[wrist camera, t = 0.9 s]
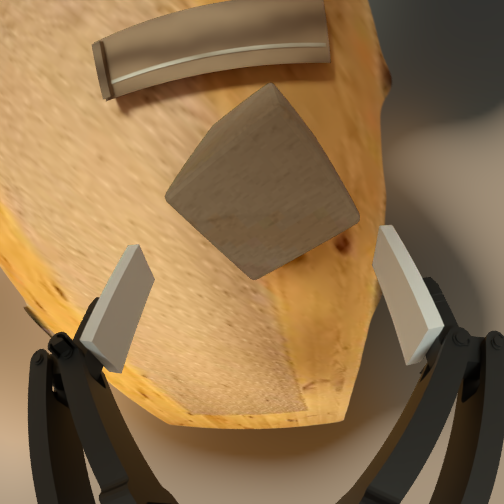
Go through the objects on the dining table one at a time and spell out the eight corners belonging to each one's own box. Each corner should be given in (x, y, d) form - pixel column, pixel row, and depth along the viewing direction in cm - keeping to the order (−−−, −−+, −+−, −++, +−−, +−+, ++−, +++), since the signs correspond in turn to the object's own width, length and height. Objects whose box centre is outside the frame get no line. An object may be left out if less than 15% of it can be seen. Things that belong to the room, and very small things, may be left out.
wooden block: (317, 140, 34) (364, 222, 18) (258, 180, 38) (253, 284, 22) (271, 80, 29) (280, 101, 14) (210, 127, 33) (159, 199, 18)
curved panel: (103, 42, 24) (90, 42, 22) (318, 0, 21) (324, -6, 19) (115, 97, 30) (102, 102, 27) (326, 62, 27) (332, 62, 24)
